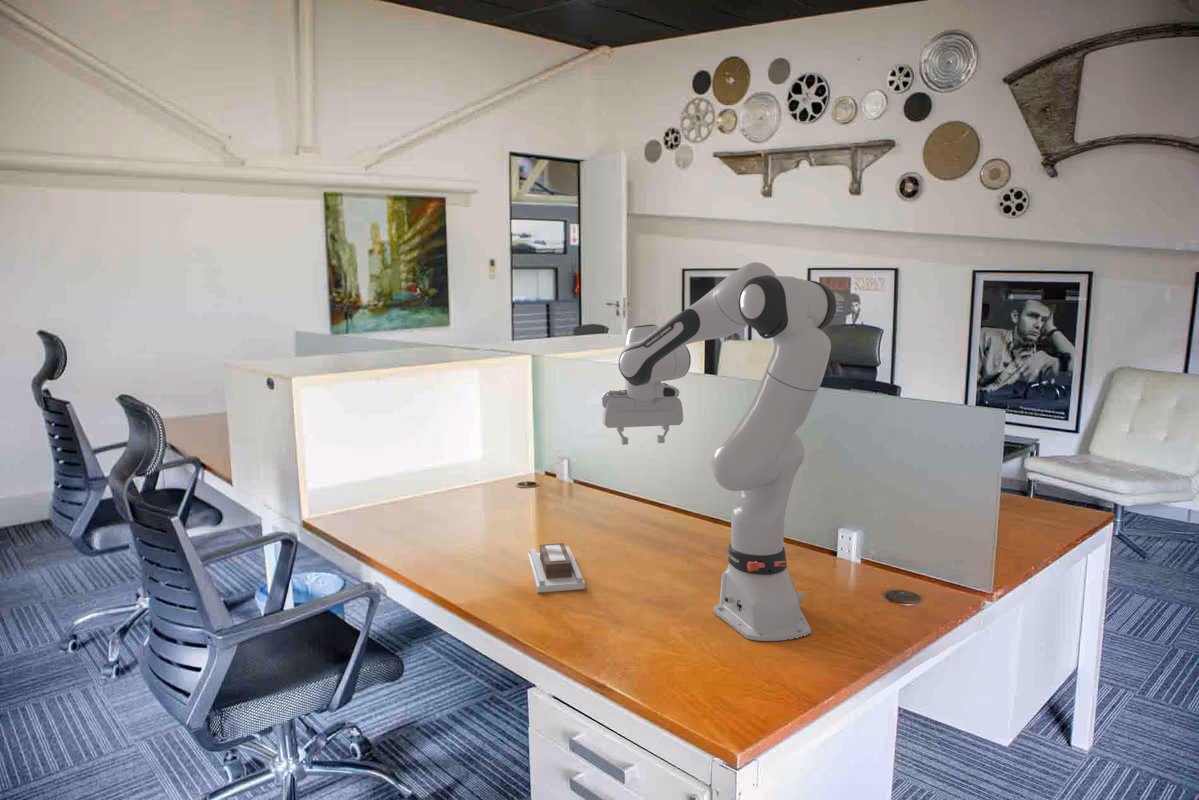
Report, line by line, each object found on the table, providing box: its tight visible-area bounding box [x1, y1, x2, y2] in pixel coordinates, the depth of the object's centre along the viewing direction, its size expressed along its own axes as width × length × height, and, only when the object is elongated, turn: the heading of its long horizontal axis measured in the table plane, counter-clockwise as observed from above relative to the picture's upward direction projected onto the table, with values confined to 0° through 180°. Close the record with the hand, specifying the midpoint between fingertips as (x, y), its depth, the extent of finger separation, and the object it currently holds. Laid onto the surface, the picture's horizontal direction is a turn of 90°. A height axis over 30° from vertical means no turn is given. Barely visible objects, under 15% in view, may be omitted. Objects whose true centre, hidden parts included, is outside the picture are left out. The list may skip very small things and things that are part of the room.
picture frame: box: [539, 542, 572, 579], centre depth 198 cm, size 14×6×4 cm, turn 10°
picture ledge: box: [527, 545, 586, 594], centre depth 199 cm, size 22×11×3 cm, turn 10°
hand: (642, 443), depth 207 cm, fingers open, 8 cm apart
